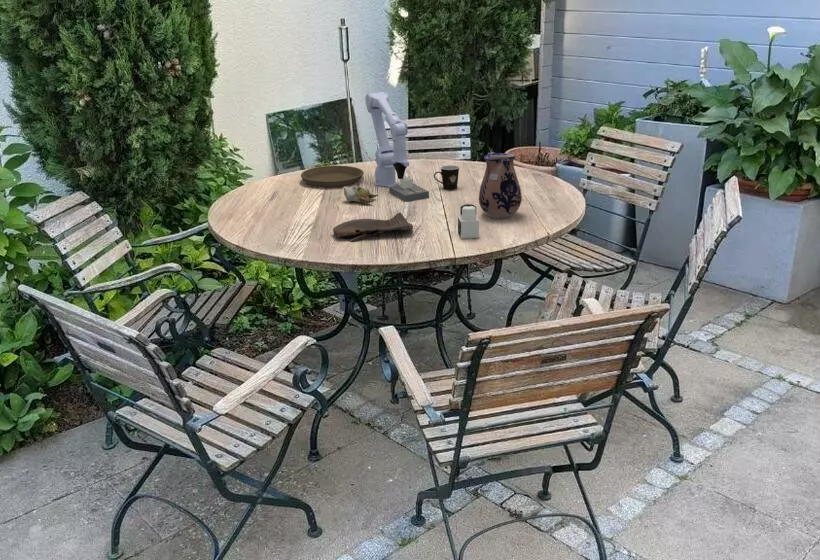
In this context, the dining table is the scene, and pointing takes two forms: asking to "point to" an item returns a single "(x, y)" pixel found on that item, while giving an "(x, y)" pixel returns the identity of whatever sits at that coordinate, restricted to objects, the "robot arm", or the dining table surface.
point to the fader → (406, 183)
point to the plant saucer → (332, 176)
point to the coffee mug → (449, 177)
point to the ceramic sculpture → (358, 194)
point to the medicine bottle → (468, 222)
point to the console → (409, 193)
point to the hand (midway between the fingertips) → (400, 178)
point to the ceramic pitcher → (500, 186)
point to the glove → (371, 226)
